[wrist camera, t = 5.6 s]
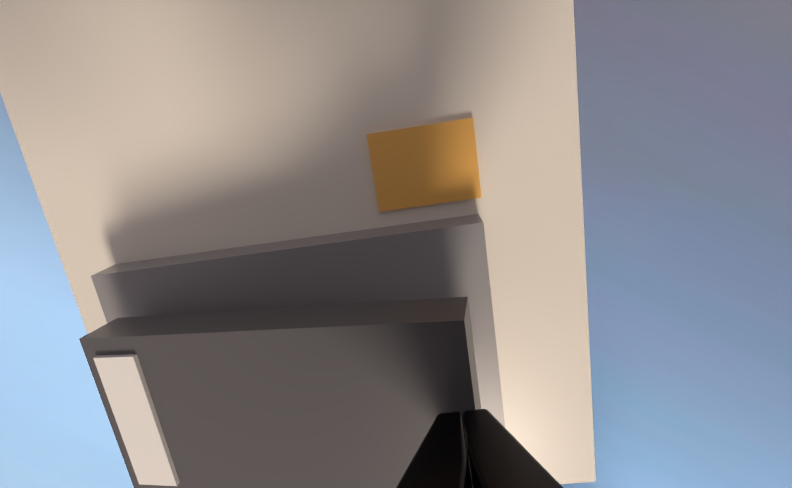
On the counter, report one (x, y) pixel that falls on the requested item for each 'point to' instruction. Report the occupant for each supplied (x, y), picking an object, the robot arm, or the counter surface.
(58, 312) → the counter surface
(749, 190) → the counter surface
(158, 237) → the switch panel
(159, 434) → the rocker
